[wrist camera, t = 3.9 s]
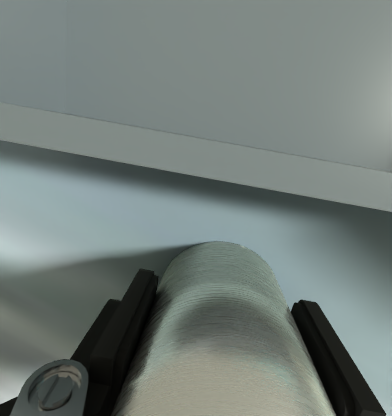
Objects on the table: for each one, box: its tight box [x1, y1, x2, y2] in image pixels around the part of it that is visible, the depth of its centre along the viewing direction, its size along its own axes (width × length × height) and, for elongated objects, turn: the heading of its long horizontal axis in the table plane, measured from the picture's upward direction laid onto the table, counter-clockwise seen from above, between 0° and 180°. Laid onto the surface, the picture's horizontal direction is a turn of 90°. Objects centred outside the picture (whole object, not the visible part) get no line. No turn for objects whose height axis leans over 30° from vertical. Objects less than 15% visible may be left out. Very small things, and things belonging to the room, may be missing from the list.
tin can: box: [111, 242, 336, 416], centre depth 7 cm, size 5×5×8 cm
